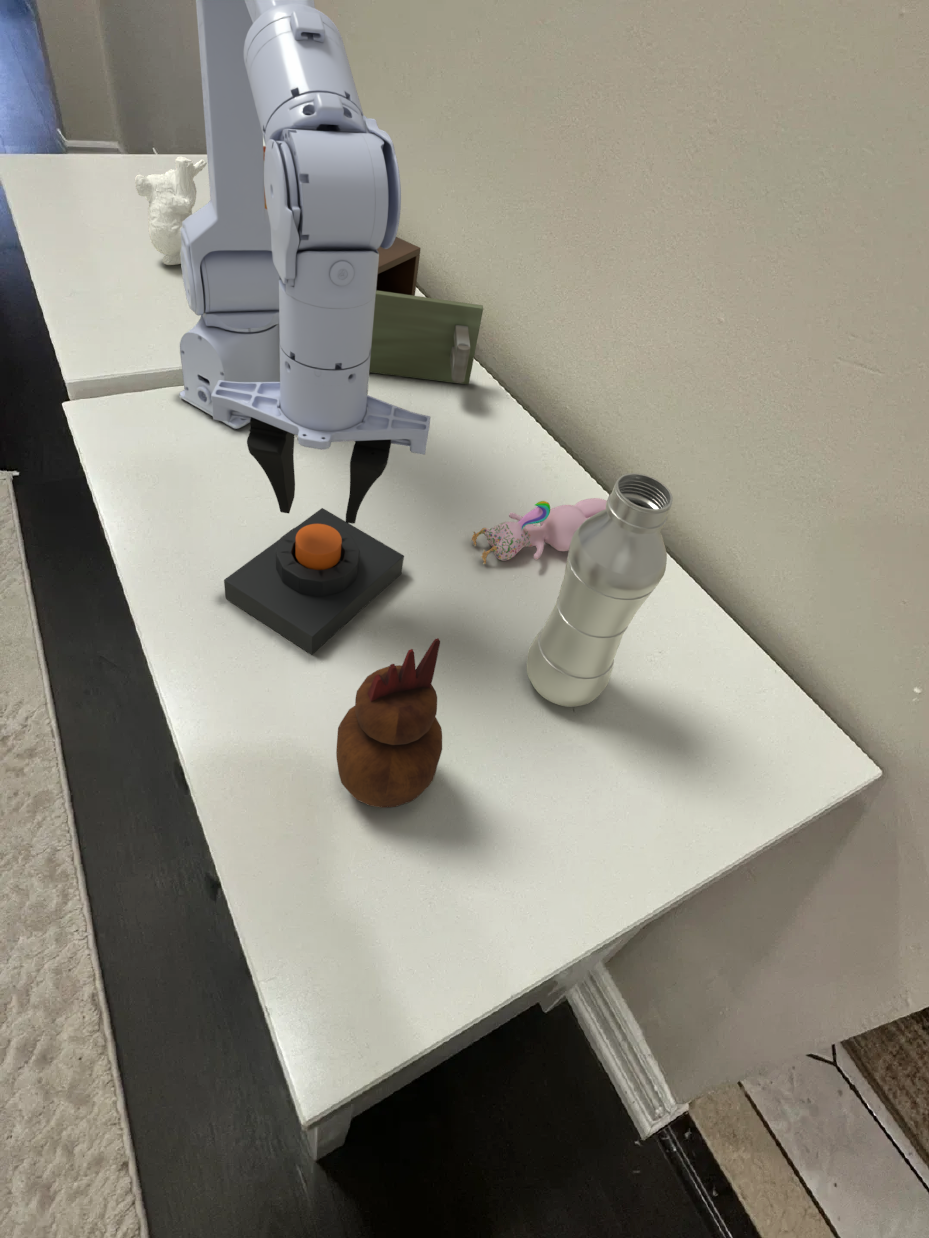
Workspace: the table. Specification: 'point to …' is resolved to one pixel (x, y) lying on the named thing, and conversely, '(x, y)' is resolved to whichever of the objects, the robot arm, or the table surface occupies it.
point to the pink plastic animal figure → (539, 528)
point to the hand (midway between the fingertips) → (319, 509)
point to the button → (318, 546)
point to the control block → (313, 584)
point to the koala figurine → (169, 205)
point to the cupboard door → (424, 337)
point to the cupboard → (398, 268)
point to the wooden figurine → (392, 734)
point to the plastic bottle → (601, 591)
